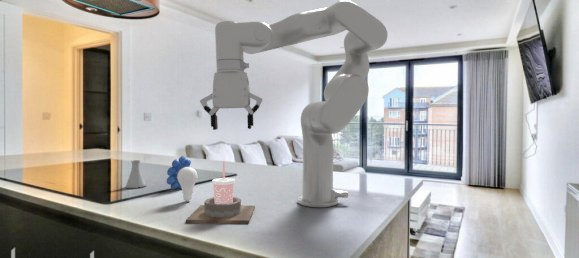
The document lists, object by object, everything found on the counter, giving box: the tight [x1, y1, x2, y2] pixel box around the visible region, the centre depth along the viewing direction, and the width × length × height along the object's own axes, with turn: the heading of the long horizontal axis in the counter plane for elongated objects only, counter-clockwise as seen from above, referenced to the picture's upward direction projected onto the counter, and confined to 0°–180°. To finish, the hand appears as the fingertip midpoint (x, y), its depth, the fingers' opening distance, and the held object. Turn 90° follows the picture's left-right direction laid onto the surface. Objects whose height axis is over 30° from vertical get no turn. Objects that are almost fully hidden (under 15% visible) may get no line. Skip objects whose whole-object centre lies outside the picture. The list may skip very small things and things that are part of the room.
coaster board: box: [185, 196, 256, 224], centre depth 93 cm, size 16×14×4 cm
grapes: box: [166, 156, 193, 191], centre depth 125 cm, size 12×7×12 cm, turn 151°
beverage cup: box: [211, 160, 236, 204], centre depth 93 cm, size 6×6×14 cm
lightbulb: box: [177, 166, 198, 202], centre depth 107 cm, size 6×6×11 cm
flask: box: [125, 159, 147, 189], centre depth 128 cm, size 7×7×10 cm
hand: (232, 129), depth 95 cm, fingers open, 9 cm apart
